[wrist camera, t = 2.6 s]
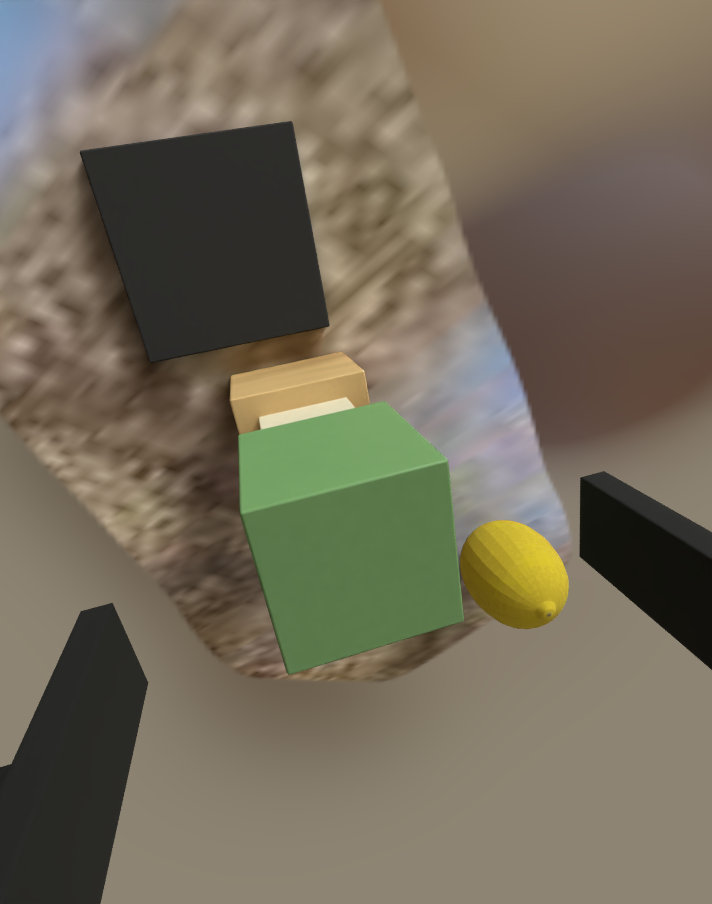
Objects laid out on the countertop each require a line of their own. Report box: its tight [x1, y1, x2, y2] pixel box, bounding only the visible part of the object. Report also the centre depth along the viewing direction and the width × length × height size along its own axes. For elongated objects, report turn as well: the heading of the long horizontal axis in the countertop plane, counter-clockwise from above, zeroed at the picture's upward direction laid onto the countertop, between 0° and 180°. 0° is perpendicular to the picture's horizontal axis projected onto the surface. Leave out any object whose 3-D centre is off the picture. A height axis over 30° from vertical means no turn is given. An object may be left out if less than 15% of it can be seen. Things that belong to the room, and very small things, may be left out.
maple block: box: [230, 352, 370, 435], centre depth 25 cm, size 6×6×5 cm
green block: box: [238, 401, 464, 675], centre depth 16 cm, size 6×6×6 cm
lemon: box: [460, 520, 569, 629], centre depth 29 cm, size 6×6×8 cm
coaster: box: [80, 121, 329, 363], centre depth 23 cm, size 9×9×1 cm
